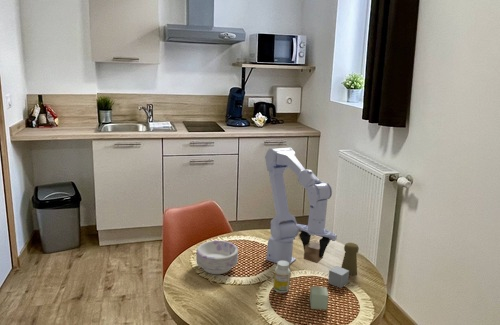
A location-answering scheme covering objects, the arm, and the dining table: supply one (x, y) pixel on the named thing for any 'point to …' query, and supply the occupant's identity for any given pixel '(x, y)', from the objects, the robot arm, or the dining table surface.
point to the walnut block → (312, 252)
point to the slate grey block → (338, 276)
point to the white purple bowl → (217, 256)
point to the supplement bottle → (282, 277)
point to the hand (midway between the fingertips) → (313, 254)
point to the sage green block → (319, 298)
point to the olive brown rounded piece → (350, 258)
